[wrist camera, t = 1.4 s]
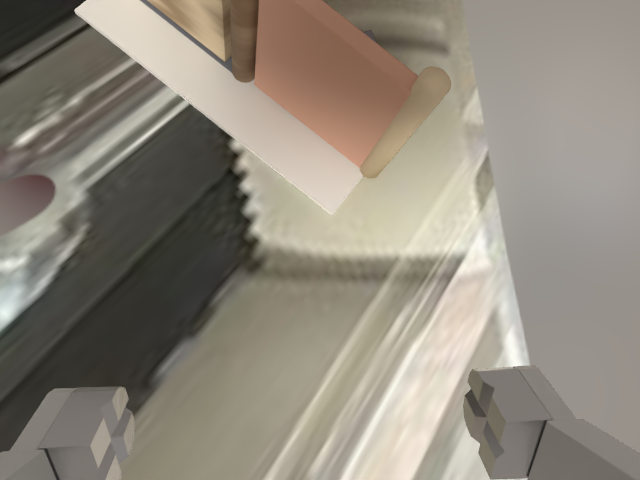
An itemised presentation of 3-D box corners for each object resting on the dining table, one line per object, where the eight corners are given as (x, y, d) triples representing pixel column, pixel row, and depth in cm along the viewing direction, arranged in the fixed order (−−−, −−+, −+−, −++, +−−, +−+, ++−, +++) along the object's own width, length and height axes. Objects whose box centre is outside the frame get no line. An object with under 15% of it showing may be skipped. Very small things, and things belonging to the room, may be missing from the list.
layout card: (76, 13, 34) (73, 9, 34) (209, -93, 39) (209, -98, 38) (332, 215, 34) (333, 214, 34) (435, 85, 39) (437, 82, 38)
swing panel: (252, 87, 35) (258, -41, 23) (265, 73, 35) (278, -60, 23) (372, 182, 35) (440, 102, 23) (384, 166, 35) (456, 80, 24)
